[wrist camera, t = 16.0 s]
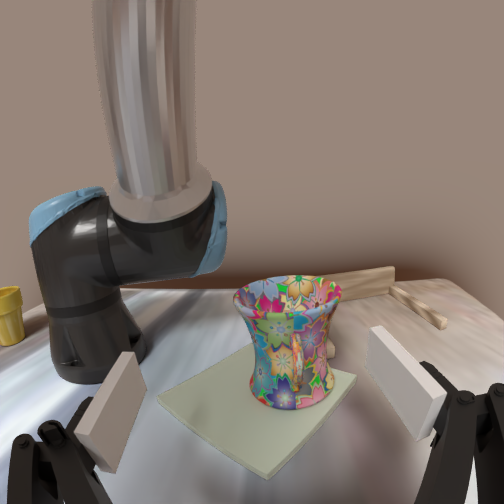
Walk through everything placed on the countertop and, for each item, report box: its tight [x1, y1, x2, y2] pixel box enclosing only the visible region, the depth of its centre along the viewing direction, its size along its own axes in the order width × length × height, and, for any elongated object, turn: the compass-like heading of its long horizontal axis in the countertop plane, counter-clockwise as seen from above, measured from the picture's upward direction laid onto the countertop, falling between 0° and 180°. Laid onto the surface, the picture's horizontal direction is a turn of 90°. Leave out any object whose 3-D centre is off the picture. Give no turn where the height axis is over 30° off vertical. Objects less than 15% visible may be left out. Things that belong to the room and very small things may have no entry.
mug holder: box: [315, 266, 448, 359], centre depth 41 cm, size 18×19×5 cm
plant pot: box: [0, 286, 25, 346], centre depth 37 cm, size 10×10×10 cm
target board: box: [156, 343, 357, 481], centre depth 26 cm, size 15×15×1 cm
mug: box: [233, 275, 342, 410], centre depth 24 cm, size 12×9×11 cm
